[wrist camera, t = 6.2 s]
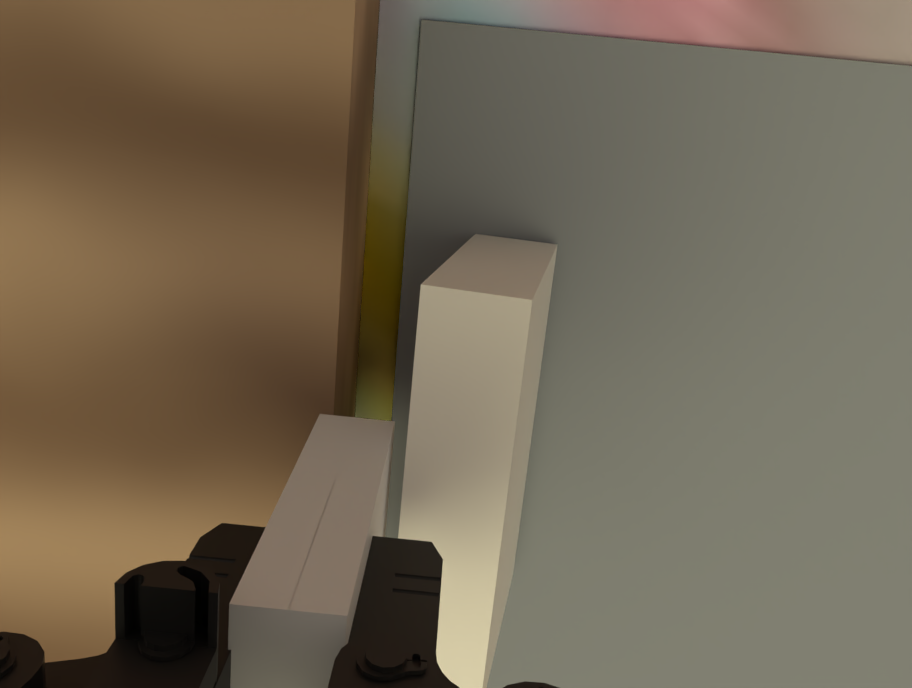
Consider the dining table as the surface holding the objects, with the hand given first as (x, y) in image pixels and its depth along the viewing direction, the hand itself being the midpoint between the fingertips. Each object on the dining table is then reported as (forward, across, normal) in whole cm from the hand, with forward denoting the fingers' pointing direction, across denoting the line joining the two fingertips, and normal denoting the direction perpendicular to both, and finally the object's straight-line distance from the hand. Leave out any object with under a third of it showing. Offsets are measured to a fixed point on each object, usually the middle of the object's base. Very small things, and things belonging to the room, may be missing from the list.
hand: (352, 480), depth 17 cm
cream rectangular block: (+2, +2, 0) cm, 3 cm away
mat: (+6, +8, 0) cm, 10 cm away
